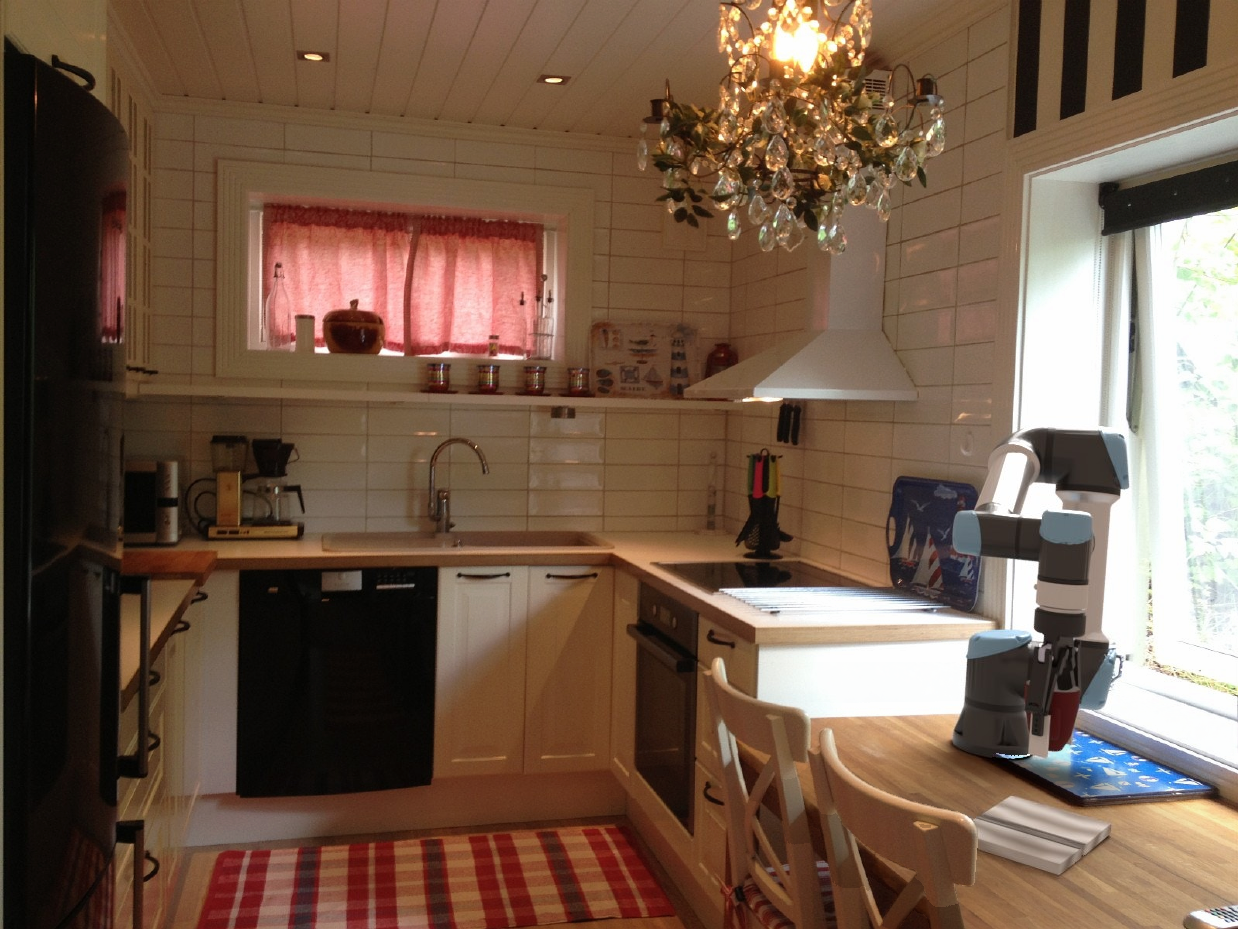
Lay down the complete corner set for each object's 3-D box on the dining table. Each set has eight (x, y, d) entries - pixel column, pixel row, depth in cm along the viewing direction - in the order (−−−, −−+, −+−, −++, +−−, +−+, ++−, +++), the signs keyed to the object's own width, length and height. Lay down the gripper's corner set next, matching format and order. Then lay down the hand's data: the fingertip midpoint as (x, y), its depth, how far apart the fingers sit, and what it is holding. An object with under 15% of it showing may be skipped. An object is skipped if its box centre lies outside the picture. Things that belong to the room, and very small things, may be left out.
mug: (1086, 763, 164) (1091, 698, 164) (1031, 758, 166) (1035, 694, 165) (1068, 742, 175) (1072, 681, 174) (1016, 738, 176) (1020, 677, 175)
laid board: (977, 826, 171) (977, 816, 171) (1080, 858, 160) (1081, 847, 160) (952, 841, 164) (953, 830, 164) (1059, 875, 154) (1059, 863, 154)
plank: (1010, 804, 181) (1011, 795, 180) (1110, 833, 170) (1111, 822, 170) (980, 824, 172) (980, 814, 172) (1083, 856, 161) (1084, 845, 161)
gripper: (1062, 598, 180) (1053, 730, 181) (1008, 612, 163) (998, 757, 164) (1109, 605, 175) (1099, 741, 176) (1058, 620, 158) (1047, 770, 159)
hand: (1050, 749), depth 170 cm, fingers closed on mug, 10 cm apart
